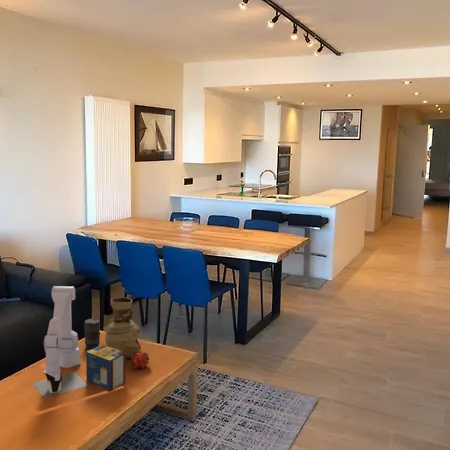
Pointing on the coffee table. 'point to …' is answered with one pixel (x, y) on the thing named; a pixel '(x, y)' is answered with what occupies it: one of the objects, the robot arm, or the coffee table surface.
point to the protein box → (105, 367)
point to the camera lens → (92, 333)
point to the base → (67, 384)
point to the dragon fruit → (140, 360)
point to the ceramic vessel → (123, 328)
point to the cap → (51, 387)
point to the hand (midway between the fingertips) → (53, 388)
